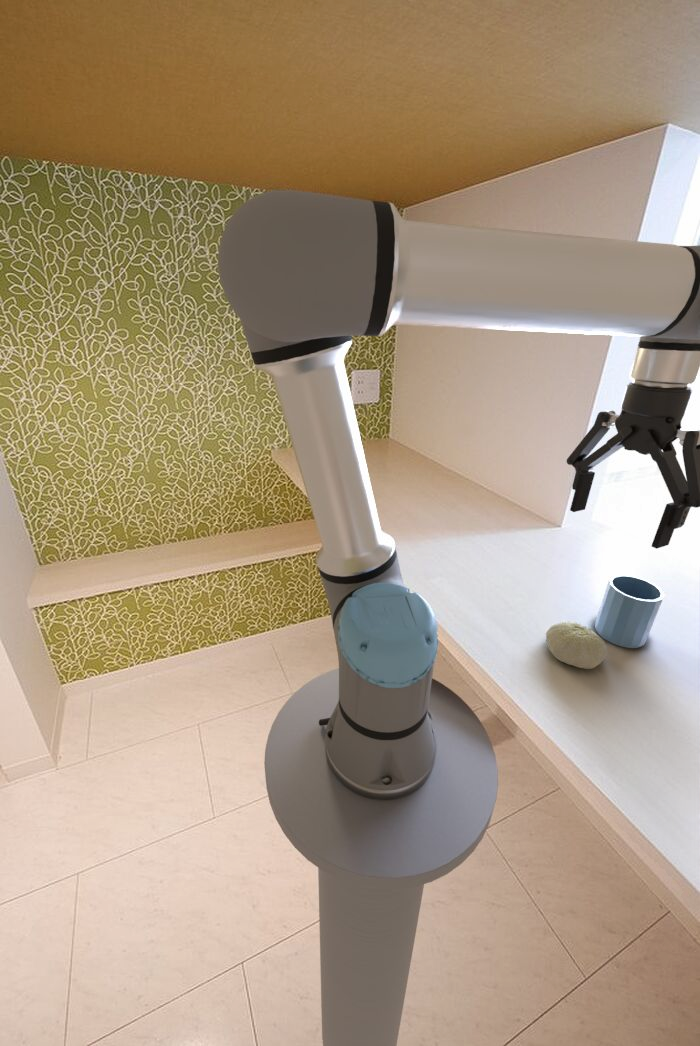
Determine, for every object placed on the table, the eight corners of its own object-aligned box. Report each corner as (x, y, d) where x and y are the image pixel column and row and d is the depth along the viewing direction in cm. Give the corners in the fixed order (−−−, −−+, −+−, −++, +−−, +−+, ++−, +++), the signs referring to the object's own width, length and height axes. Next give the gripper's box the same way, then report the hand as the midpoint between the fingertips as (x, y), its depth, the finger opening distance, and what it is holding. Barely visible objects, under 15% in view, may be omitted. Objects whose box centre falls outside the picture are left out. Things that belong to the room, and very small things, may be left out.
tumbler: (589, 633, 80) (603, 587, 75) (601, 613, 85) (615, 569, 81) (640, 655, 75) (659, 607, 70) (649, 632, 80) (667, 587, 76)
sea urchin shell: (576, 620, 80) (607, 614, 72) (590, 665, 77) (623, 664, 70) (532, 627, 78) (559, 621, 70) (544, 673, 75) (574, 672, 68)
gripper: (791, 397, 49) (719, 558, 58) (595, 371, 69) (564, 494, 79) (757, 401, 46) (686, 570, 55) (562, 373, 66) (534, 501, 76)
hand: (615, 526), depth 67 cm, fingers open, 13 cm apart
